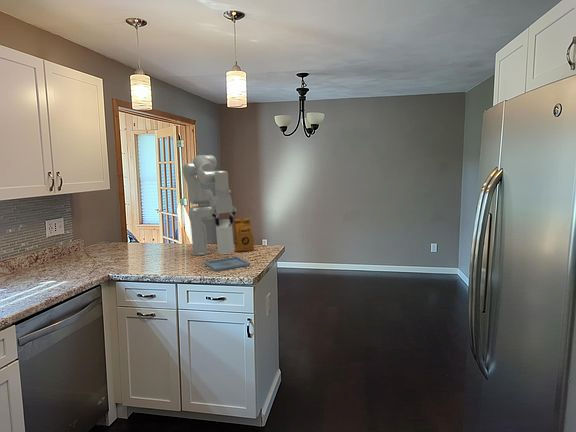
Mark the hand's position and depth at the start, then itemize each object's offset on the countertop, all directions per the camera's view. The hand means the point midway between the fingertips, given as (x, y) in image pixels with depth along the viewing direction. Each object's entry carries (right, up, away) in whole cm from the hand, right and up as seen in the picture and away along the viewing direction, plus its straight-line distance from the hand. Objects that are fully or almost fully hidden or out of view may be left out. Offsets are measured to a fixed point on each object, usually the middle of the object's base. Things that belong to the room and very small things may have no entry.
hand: (224, 224), depth 221 cm
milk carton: (+1, -16, +2) cm, 16 cm away
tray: (+1, -24, +3) cm, 24 cm away
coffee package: (+7, -19, +42) cm, 46 cm away
